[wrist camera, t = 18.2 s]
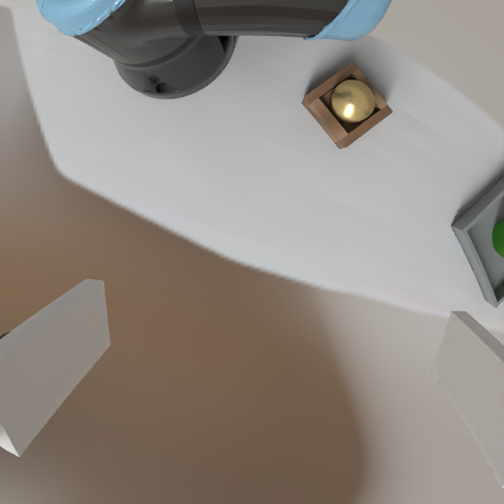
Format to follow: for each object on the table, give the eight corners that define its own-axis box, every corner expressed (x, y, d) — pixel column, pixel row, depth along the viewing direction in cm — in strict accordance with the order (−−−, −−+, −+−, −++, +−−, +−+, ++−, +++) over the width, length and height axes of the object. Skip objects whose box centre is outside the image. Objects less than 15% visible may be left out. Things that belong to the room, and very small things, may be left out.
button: (320, 100, 32) (324, 94, 29) (349, 79, 31) (356, 72, 28) (346, 131, 33) (352, 128, 30) (374, 110, 32) (383, 105, 29)
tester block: (301, 103, 35) (305, 96, 31) (345, 72, 34) (352, 62, 30) (339, 149, 36) (347, 147, 32) (382, 116, 35) (393, 111, 31)
